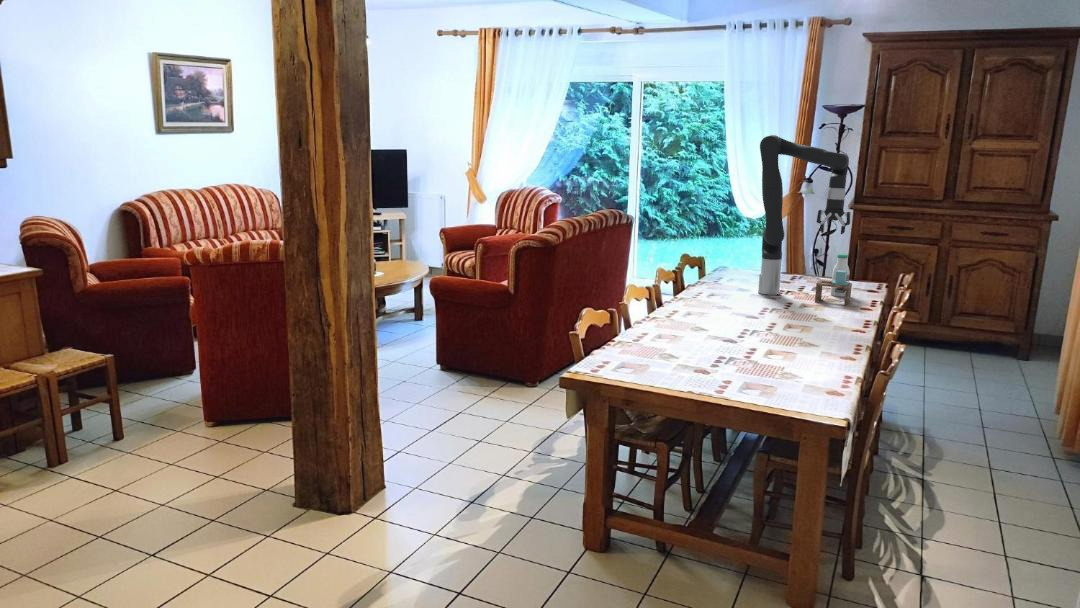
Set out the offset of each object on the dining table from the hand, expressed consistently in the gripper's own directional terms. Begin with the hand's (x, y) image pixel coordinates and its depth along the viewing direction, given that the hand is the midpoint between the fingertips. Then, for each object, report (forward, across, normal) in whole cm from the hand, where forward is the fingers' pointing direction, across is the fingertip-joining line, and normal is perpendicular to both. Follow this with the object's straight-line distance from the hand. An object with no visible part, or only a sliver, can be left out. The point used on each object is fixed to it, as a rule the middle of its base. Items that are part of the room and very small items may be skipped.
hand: (831, 233), depth 353 cm
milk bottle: (+31, -4, -14) cm, 34 cm away
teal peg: (+26, -7, +4) cm, 27 cm away
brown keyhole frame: (+31, -4, +4) cm, 32 cm away
